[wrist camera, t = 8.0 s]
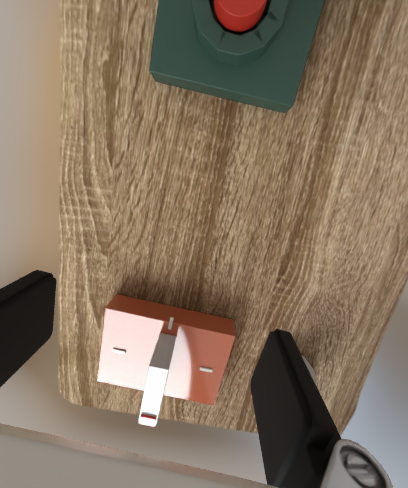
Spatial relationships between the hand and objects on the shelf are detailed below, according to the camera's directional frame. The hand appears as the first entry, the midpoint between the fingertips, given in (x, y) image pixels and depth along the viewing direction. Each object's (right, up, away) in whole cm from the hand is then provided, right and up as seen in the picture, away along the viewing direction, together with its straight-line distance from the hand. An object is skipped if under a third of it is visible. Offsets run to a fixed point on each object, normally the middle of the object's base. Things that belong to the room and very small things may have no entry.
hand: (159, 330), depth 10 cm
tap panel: (-3, -8, +19) cm, 21 cm away
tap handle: (-3, -9, +16) cm, 19 cm away
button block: (+5, +22, +10) cm, 24 cm away
